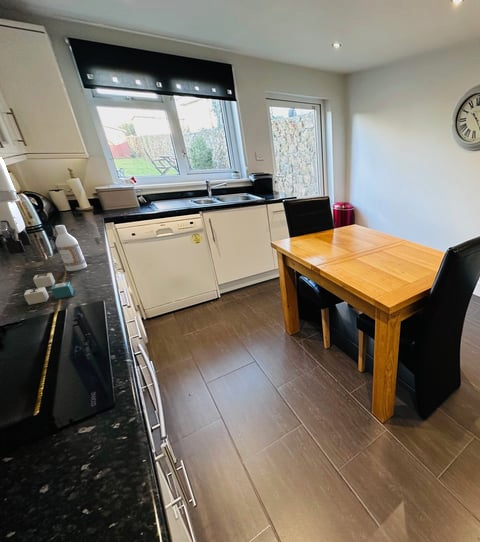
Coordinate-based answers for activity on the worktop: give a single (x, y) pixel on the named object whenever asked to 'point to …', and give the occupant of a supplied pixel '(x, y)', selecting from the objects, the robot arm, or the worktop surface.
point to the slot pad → (64, 297)
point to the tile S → (62, 290)
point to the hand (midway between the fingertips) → (21, 249)
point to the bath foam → (69, 250)
